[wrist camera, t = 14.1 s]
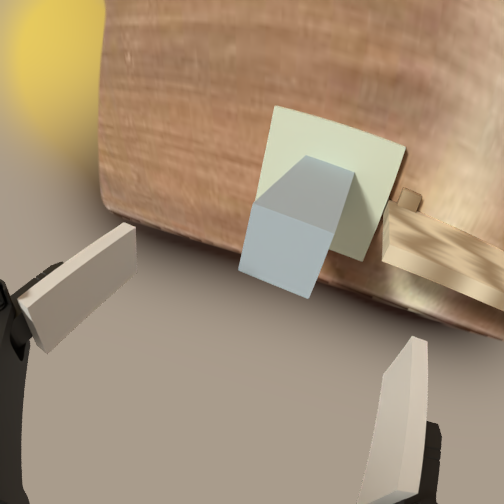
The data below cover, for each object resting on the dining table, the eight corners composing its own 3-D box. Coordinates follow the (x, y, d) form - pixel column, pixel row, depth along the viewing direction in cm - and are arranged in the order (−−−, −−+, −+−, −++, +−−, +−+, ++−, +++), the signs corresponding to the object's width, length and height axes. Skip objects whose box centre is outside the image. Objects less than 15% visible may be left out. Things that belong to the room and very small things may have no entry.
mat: (253, 218, 36) (251, 221, 36) (277, 105, 29) (274, 106, 28) (362, 258, 33) (362, 261, 33) (405, 146, 26) (405, 147, 26)
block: (305, 155, 30) (252, 203, 18) (354, 172, 29) (334, 233, 17) (292, 201, 33) (237, 271, 21) (338, 218, 32) (307, 300, 20)
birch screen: (377, 226, 31) (373, 279, 23) (394, 183, 28) (398, 223, 20) (519, 288, 27) (544, 347, 19) (540, 254, 24) (573, 307, 16)
